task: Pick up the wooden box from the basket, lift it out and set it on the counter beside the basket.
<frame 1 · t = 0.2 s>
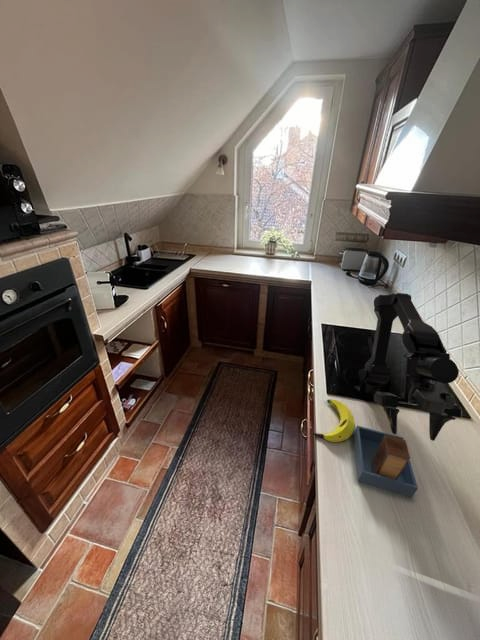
hand: (412, 437, 66), 15 cm above the worktop, tool tilted 35°, fingers open, 9 cm apart
basket: (378, 463, 74), on the worktop
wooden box: (381, 474, 71), resting on basket
banana: (330, 421, 87), on the worktop
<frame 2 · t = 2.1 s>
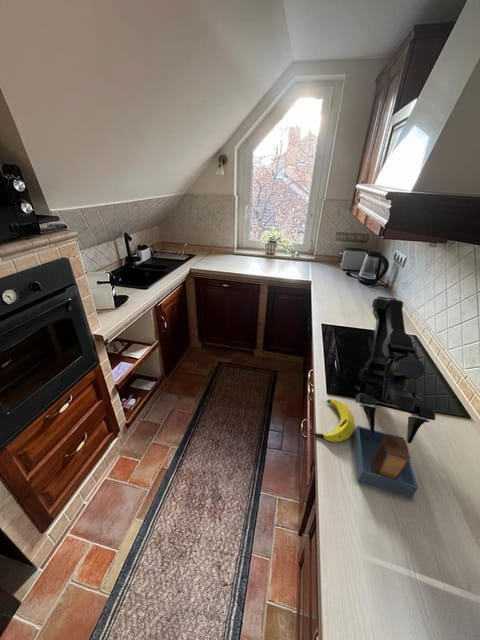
hand: (390, 438, 69), 11 cm above the worktop, tool tilted 45°, fingers open, 9 cm apart
nothing on the worktop moved.
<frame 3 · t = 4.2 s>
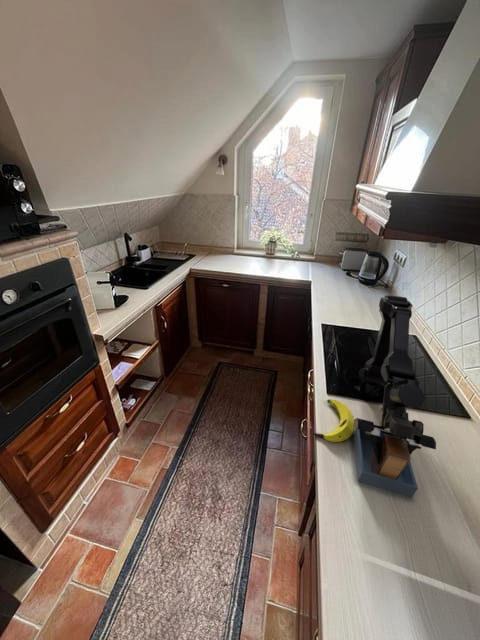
hand: (389, 466, 67), 7 cm above the worktop, tool tilted 45°, fingers closed on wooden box, 5 cm apart
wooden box: (381, 474, 71), point 1 cm above the worktop, touching basket, gripper
everything else where it was.
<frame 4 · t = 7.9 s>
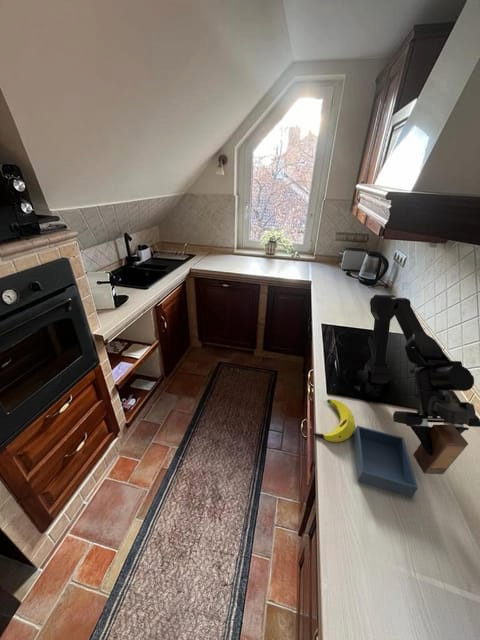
hand: (441, 455, 63), 13 cm above the worktop, tool tilted 45°, fingers closed on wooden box, 5 cm apart
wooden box: (427, 464, 67), point 7 cm above the worktop, touching gripper
everything else where it was.
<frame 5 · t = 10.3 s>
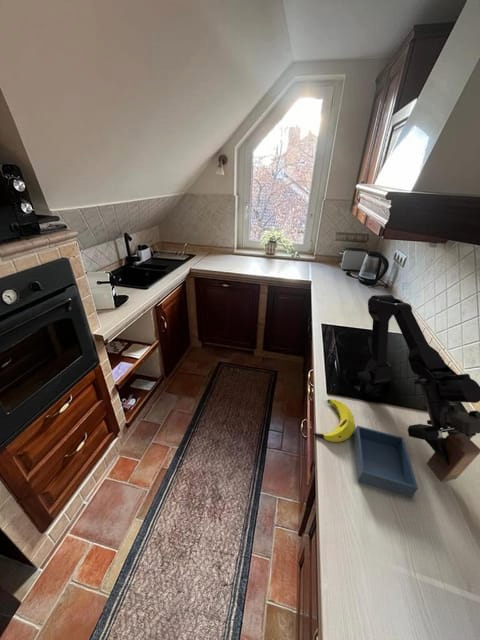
hand: (455, 463, 66), 9 cm above the worktop, tool tilted 45°, fingers closed on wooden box, 5 cm apart
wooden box: (440, 471, 70), point 3 cm above the worktop, touching gripper
everything else where it was.
when the fingers open (6 cm above the worktop, at t = 11.7 s): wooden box stays where it is, on the worktop.
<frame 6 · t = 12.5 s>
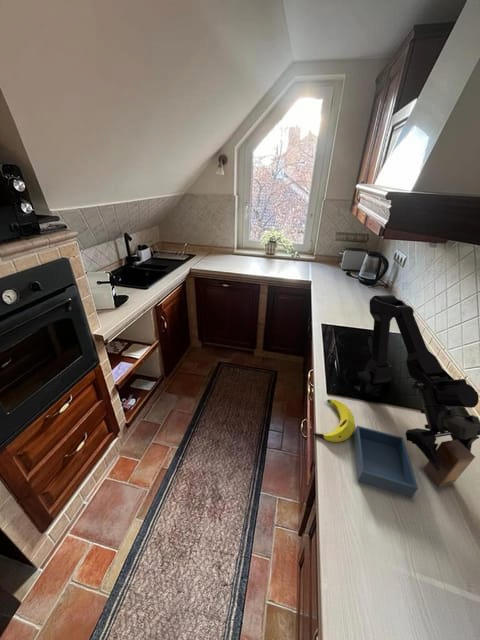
hand: (452, 467, 67), 7 cm above the worktop, tool tilted 45°, fingers open, 9 cm apart
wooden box: (436, 477, 71), on the worktop
everything else where it was.
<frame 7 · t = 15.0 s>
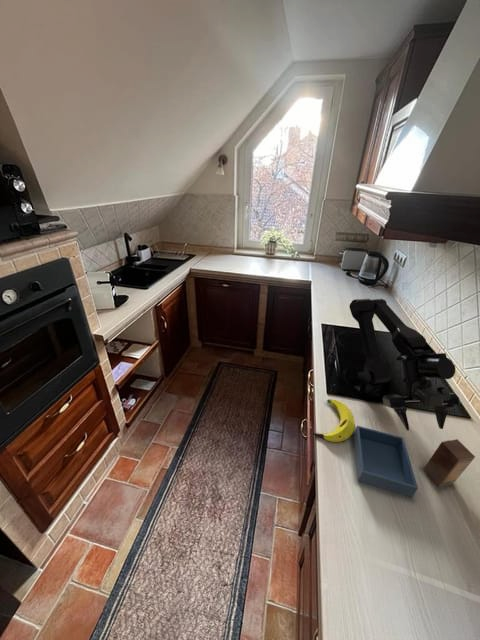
hand: (424, 429, 75), 9 cm above the worktop, tool tilted 35°, fingers open, 9 cm apart
nothing on the worktop moved.
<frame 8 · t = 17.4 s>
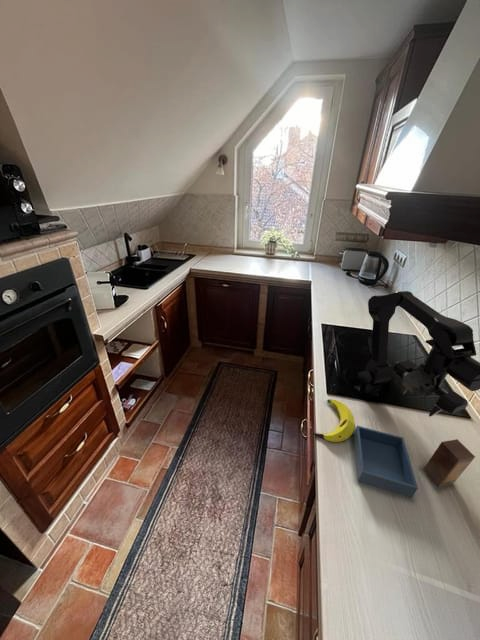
hand: (416, 404, 78), 13 cm above the worktop, tool pointing down, fingers open, 9 cm apart
nothing on the worktop moved.
at the end: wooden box inside the target area (0.0 cm from its centre), on the worktop; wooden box tilted 0°; the gripper is holding nothing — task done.
